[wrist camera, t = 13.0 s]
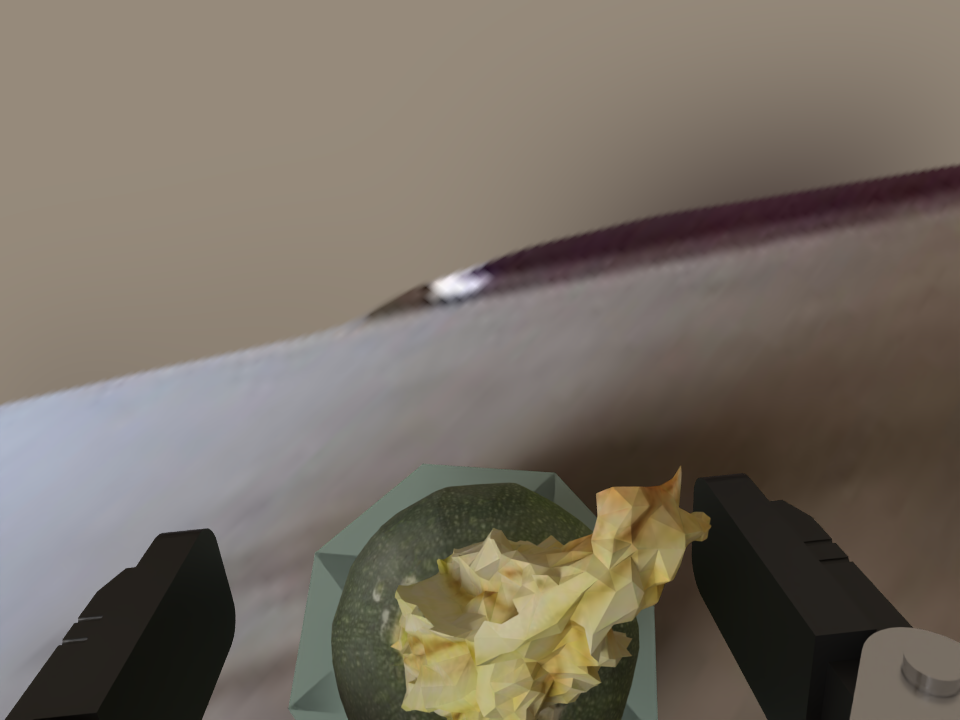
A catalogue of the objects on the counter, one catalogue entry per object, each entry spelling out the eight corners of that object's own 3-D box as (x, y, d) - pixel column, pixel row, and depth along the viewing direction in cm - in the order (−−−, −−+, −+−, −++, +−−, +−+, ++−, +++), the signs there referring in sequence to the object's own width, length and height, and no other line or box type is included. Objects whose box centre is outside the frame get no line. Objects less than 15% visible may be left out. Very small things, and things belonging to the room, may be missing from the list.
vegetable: (432, 732, 21) (-33, 1166, 3) (423, 589, 23) (106, 297, 5) (570, 716, 21) (978, 1048, 3) (551, 576, 23) (726, 235, 5)
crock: (494, 474, 25) (493, 401, 18) (659, 660, 23) (737, 662, 15) (311, 632, 23) (225, 621, 16) (469, 858, 20) (452, 972, 13)
